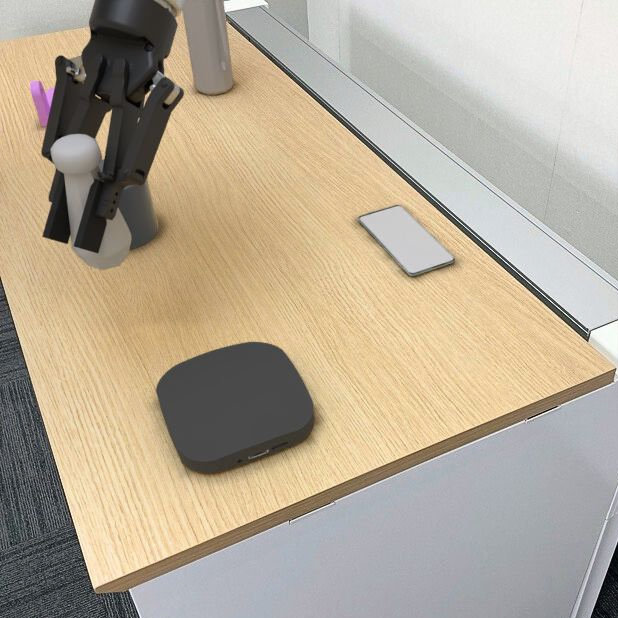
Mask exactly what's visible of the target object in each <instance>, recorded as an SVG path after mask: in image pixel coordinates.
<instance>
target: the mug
mask: <svg viewBox="0 0 618 618" xmlns="http://www.w3.org/2000/svg"><path fill="white" fill-rule="evenodd" d="M103 165H104V158H102V161H101V163H100V165H99V166H98V167H99V169H100V171H101V172H102V171H103ZM118 208H119V210H120V212H121V214H122V216H123V218H124V220H125V222H126V224H127V226H128V228H129V231H130V233H131V244H130V249H129V250H133V249H136V248H140V247H142V246H144V245H146V244H149V242H151V241H152V240H153V239H155V237H156V236H157V235H158V232H159V231H160V230H159V228H160V226H159V221H158V217H157V216H158V215H157V212H156V207H155V204H154V199H153V194H152V190H151V185H150V182H149V178H148V177H147V179H146V182H145V183H144V184H143V185H141V186H139V185H129V186H126V187H125V188H124V189H123V192H122V195H121V198H120V202H119V205H118Z"/></svg>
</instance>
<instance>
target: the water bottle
mask: <svg viewBox="0 0 618 618" xmlns="http://www.w3.org/2000/svg"><path fill="white" fill-rule="evenodd" d="M181 13H182V17H183V24H184V30H185V35H186V42H187V47H188V55H189V60H190V68H191V73H192V78H193V84H194V87H195V88H196V90H197V91H198V92H199V93H201V94H204V95H208V96H209V95H210V96H212V95H213V96H214V95H216V96H217V95H220V94H225V93H226V92H228V91H229V90H231V89H232V88H233V85H234V83H235V82H234V75H233V66H232V65H233V64H232V58H231V57H232V56H231V50H230V42H229V34H228V26H227V25H228V24H227V17H226V9H225V1H224V0H185V1H184V5H183V8H182V12H181Z"/></svg>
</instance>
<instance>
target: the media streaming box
mask: <svg viewBox="0 0 618 618" xmlns="http://www.w3.org/2000/svg"><path fill="white" fill-rule="evenodd" d="M155 392H156V396H157V399H158V403H159V407H160V410H161V414H162V416H163V420H164V423H165V426H166V429H167V431H168V434H169V437H170V439H171V441H172V444H173V446H174V448H175V450H176V453H177V456H178V457H179V460H180V462H181V463H182V464H183V465H184V466H185V467H186V468H188V469H189V470H191V471H193V472H196V473H202V474H219V473H222V472H225V471H227V470H230V469H234V468H236V467H241V466H242V465H246V464H249V463H252V462H253V461H257V460H260V459H262V458H265V457H267V456H270V455H273V454H275V453H278V452H281V451H283V450H285V449H288V448H291V447H292V446H295V445H298V444H299V443H301V442H303V441H304V440H305V439H306V438H307V437H308V436H309V435H310V433H311V432H312V430H313V428H314V425H315V411H314V402H313V398H312V397H311V394H310V391H309V390H308V388H307V386H306V384H305V382H304V380H303V378H302V376H301V374H300V373H299V371H298V370H297V368H296V366H295V364H294V363H293V362H292V360H291V359H290V357H289V356H288V355H287V353H286V352H285V351H284V350H283V349H282V348H281V347H279V346H278V345H275V344H272V343H268V342H264V341H246V342H241V343H240V342H239V343H236V344H230V345H227V346H223V347H219V348H215V349H213V350H209V351H207V352H204V353H201V354H198V355H196V356H193V357H191V358H187V359H186V360H184V361H181V362H179V363H177V364H175V365H174V366H172V367H171V368H169V369H168V370H167V371H166V372H165V373H163V375H162V376H161V377H160V379H159V380H158V382H157V384H156V387H155Z"/></svg>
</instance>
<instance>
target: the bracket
mask: <svg viewBox="0 0 618 618" xmlns="http://www.w3.org/2000/svg"><path fill="white" fill-rule="evenodd" d="M54 88H55V86H52V87H50V88H49V89H47V90H46V91H45V89H44V85H43V83H42V81H41V80H32V81H30V83H29V89H30V94H31V98H32V101H33V104H34V108H35V110H36V114H37V116H38V120H39V123H40V126H41V127H42V128H44V127H45V128H46V127H47V122H48V117H49V112H50V107H51V103H52V98H53V93H54Z"/></svg>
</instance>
